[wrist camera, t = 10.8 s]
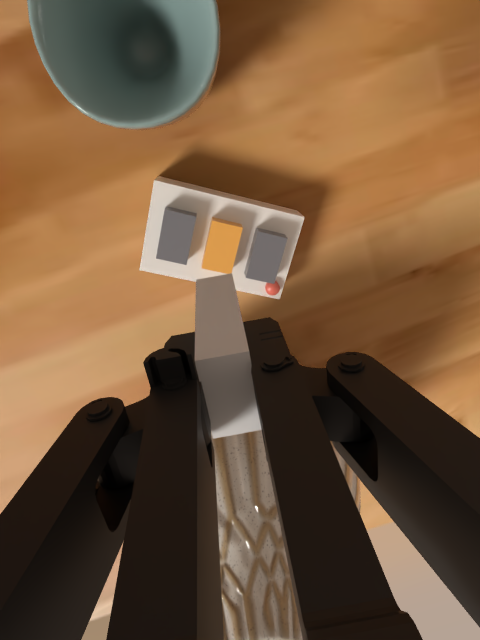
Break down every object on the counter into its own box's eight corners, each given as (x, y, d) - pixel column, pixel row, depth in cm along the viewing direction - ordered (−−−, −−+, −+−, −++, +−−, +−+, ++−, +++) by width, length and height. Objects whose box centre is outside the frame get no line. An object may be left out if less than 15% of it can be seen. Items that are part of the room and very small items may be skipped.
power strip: (145, 257, 32) (136, 275, 28) (158, 175, 29) (152, 182, 26) (273, 285, 33) (282, 305, 30) (295, 209, 31) (308, 220, 27)
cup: (200, -30, 25) (197, -123, 16) (227, 116, 28) (237, 110, 19) (69, -2, 25) (-10, -79, 16) (111, 140, 28) (65, 146, 19)
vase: (363, 397, 38) (511, 644, 20) (247, 504, 42) (279, 790, 24) (225, 291, 33) (251, 492, 15) (109, 426, 37) (16, 711, 19)
